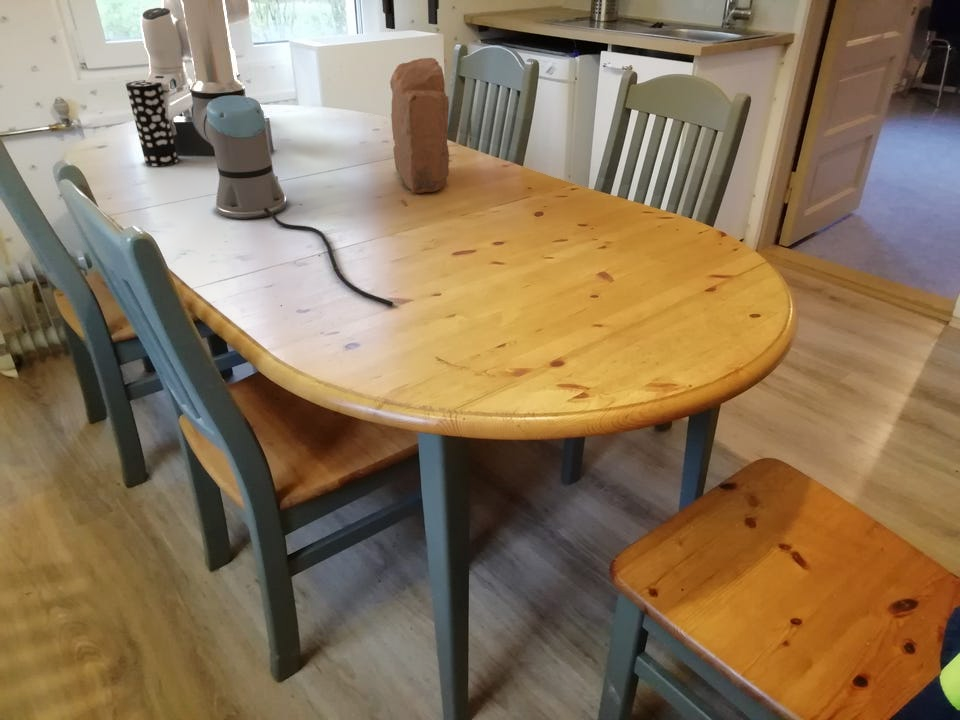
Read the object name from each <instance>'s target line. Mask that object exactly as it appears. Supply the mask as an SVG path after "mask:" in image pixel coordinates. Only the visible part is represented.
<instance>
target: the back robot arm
mask: <svg viewBox="0 0 960 720" xmlns="http://www.w3.org/2000/svg"><path fill="white" fill-rule="evenodd" d="M224 2H225V9H226V15H227V22H228V27H230V26H235V25H239V24H243V23H245V22H248V21H249V19H250V17H251V14H252V9H253V8H252V6H253V5H252V1H251V0H224ZM140 26H141V35H142V39H143V43H144V44H143V45H144V48H145V50H146V52H147V55H148V65H149V73H148V75H147V78H146V79H145V80H146V81H145V82H152V83H161V86H162V90H163V99H164V106H165V111H166V116H167V119H168V120H169V121H170V124H171V129H172V133H173V135H176V134H178V130H177V127H175V125H174V123H173V122H174V118H175V117H192V116H191V109H192V104H193V101H192V96H191V90H190V86H191V85H192V84H193V83H194V82H193V81H192V78H189V74H188V71H187V66H186V62H185V60H184V59H187V60H192V56H191V50H190V45H189V39H188V33H187V28H186V22H185V17H184V11H183V6H182V0H161V7H154V8H149V9H146V10H144V11H143V12H142V13H141V15H140ZM231 48H232V55H233V61H234V68H235V75H236V78H237V79H238V80H239V81H240V82H241V83H242V77H241V74H240V73H239V68H238V63H237V56H236V50H235V48H233V46H232V45H231ZM242 84H243V83H242Z"/></svg>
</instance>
